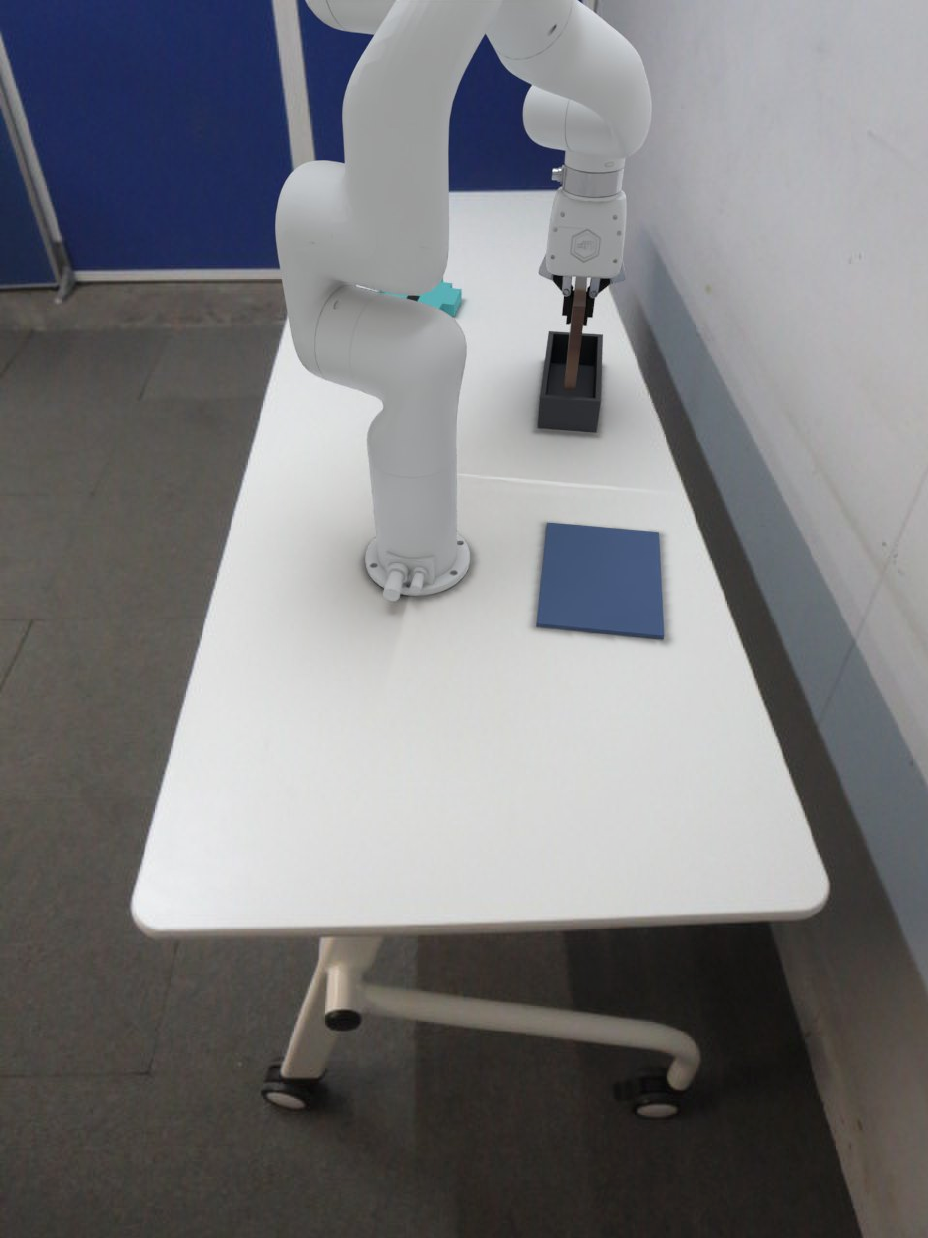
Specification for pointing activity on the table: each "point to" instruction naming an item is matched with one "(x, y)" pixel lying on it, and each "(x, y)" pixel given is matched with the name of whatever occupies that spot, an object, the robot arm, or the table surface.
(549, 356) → the bin
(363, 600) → the table surface
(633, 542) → the mat
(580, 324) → the board
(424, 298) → the alien figure
